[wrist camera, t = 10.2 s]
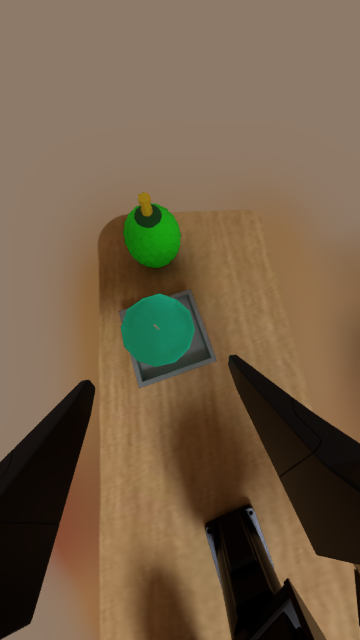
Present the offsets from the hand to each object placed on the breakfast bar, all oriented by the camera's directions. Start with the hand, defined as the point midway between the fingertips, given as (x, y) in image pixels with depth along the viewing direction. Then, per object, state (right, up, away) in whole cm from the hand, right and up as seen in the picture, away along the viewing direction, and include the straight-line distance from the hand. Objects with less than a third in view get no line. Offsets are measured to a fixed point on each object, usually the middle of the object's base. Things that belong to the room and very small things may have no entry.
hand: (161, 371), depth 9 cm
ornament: (-3, +15, +16) cm, 22 cm away
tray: (-1, +1, +13) cm, 13 cm away
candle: (-1, +1, +13) cm, 13 cm away
